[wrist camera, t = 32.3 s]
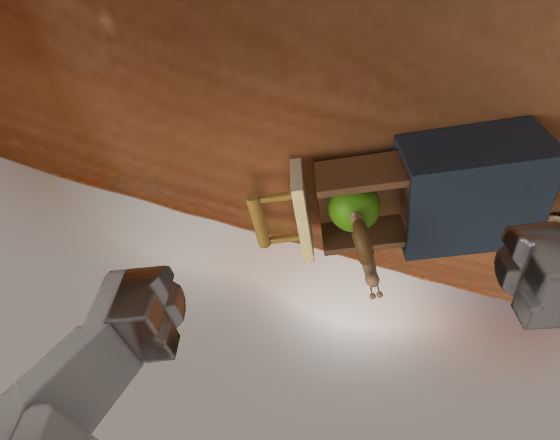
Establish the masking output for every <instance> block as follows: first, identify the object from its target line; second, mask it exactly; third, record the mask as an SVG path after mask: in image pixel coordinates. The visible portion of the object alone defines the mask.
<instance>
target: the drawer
mask: <svg viewBox="0 0 560 440" xmlns="http://www.w3.org/2000/svg"><path fill="white" fill-rule="evenodd" d="M313 167H314V176H315V185H316V194H317V199H318V206H319V213H320V221H321V229H322V238H323V247H324V254H325V256H327V255H336V254H345V253H354V252H357V251H356V248H355V245H354V241H353V238H352V232H347V231H344V230H342V229H340V228H339V227H338V226H336V225H335V224H334V222H333V221H332V220H331V218H330V215H329V212H328V201H329V198H330V197H335V196H343V195H350V194H358V193H366V192H374V191H376V192H377V193H378V195H379V198H380V202H381V211H380V215H379V217H378V219H377V221H376V222H375V223H374V224H373V225H372V226H371V227H370V228H368V230H369V233H370V237H371V240H372V244H373V250H381V249H390V248H399V247H405V244H406V230H407V216H408V202H409V188H410V176H409V174H408V172H407V169H406V167H405V165H404V162H403V160H402V158H401V155H400V153H399V151H398V150H397V151H390V152H382V153H375V154H368V155H361V156H354V157H346V158H339V159H332V160H325V161H318V162H313ZM290 185H291V192H286V193H278V194H270V195H263V196H259V195H258V194H257V193H251V194H249V195H247V196H246V202H247V205H248V209H249V212H250V216H251V219H252V223H253V226H254V229H255V233H256V236H257V239H258V243H259V246H260V247H261V248H267V247H269V246H270V245H271V244H273V243H281V242H290V241H299V240H300V244H301V249H302V255H303V260H304V263H306V262H314V251H313V239H312V228H311V221H310V214H309V208H308V201H307V195H306V188H305V182H304V175H303V169H302V162H301V158H296V159H290ZM284 200H292V202H293V207H294V212H295V218H296V223H297V228H298V234H290V235H282V236H273V237H269V233H268V229H267V225H266V221H265V217H264V214H263V210H262V206H261V203H269V202H276V201H284Z"/></svg>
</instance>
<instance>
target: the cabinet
mask: <svg viewBox="0 0 560 440" xmlns="http://www.w3.org/2000/svg"><path fill="white" fill-rule="evenodd" d="M397 150H398V151H399V153H400V155H401V158H402V160H403V162H404V165H405V167H406V169H407V172H408V174H409V176H410V188H409V202H408V216H407V230H406V244H405V247H402V251H403V254H404V256H405V260H406V261H411V260H421V259H430V258H439V257H449V256H458V255H467V254H476V253H486V252H495V251H498V250H499V249H500V248H502V247H503V246H504V243H503V242H502V240H501V236H502V233H503V230H504V229H505V228H506V227H507V226H514V225H522V224H530V223H538V222H546V221H547V219H548V216H549V214H550V211H551V209H552V206H553V204H554V201H555V199H556V196H557V194H558V191H559V189H560V143H559V142H558V141H557V140H556V139H555V138H554V137H553V136H552V135H551V134H550V133H549V132H548V131H547V130H546V129H545V128H544V127H542V126H541V125H540V124H539V123H538V122H537V121H536V120H535V119H534V118H533V117H532V116H531V115H530V116H523V117H516V118H509V119H502V120H495V121H488V122H481V123H474V124H467V125H460V126H453V127H446V128H439V129H432V130H426V131H419V132H412V133H405V134H398V135H394V151H397Z"/></svg>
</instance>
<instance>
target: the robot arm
mask: <svg viewBox="0 0 560 440" xmlns="http://www.w3.org/2000/svg"><path fill="white" fill-rule="evenodd" d="M501 240H502V242H503V243H504V246H503V247H502V248H500V249H499V250H498V251H497V252H496V256H495V260H494V265H495V274H496V277H497V280H498V282H499V284H500V286H501V288H502V290H504V291H505V292H507V293H508V294H510V295H511V296H513V300H512V304H511V306H512V308H513V310H514V312H515V314H516V316H517V318H518V319H519V321H520V323H521V325H522V327H523V329H524V330H531V329H549V328H560V220H555V221H546V222H538V223H530V224H522V225H514V226H507V227H506V228H505V229H504V230H503V233H502V236H501ZM173 277H174V273H173V272H172V270H171V268H170V267H169V266H157V267H146V268H136V269H135V268H134V269H127V270H116V271H110V272H109V273H108V274H107V275H106V276H105V278H104V280H103V282H102V284H101V286H100V289H99V291H98V293H97V295H96V298H95V300H94V302H93V304H92V307H91V309H90V311H89V313H88V315H87V318H86V320H85V322H84V324H83V326H78V327H76V328H75V329H74V330H73V331H72V332H71V333H70V334H68V335H67V336H66V337H65V338H64V339H63V340H62V341H61V342H59V343H58V344H57V345H56V346H55V347H54V348H53V349H52V350H51V351H49V352H48V353H47V354H46V355H45V356H44V357H43V358H42V359H40V360H39V361H38V362H37V363H36V364H35V365H34V366H33V367H31V368H30V369H29V370H28V371H27V372H26V373H25V374H24V375H23V376H21V377H20V378H19V379H18V380H17V381H16V382H15V383H14V384H13V385H11V386H10V387H9V388H8V389H7V390H6V391H5V392H4V393H2V394H1V395H0V440H97V438H95V437H94V436H93V435H91V433H92V432H93V431H94V429H95V428H96V427H97V425H98V424H99V423H100V422H101V420H102V419H103V417H104V416H105V415H106V413H107V412H108V411H109V410H110V408H111V407H112V406H113V404H114V403H115V402H116V400H117V399H118V398H119V396H120V395H121V394H122V392H123V391H124V390H125V388H126V387H127V386H128V385H129V383H130V382H131V381H132V379H133V378H134V377H135V375H136V374H137V373H138V371H139V370H140V369H141V367H142V366H143V364H142V363H150V362H158V361H167V360H175V356H176V352H177V348H178V343H179V339H180V335H179V333H178V331H177V329H176V328H177V327H178V326H179V325H180V324H181V323H182V322H183V320H184V315H185V297H184V293H183V290H182V288H181V286H180V285H178V284H176V283H175V282H173Z"/></svg>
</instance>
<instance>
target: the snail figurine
mask: <svg viewBox="0 0 560 440" xmlns="http://www.w3.org/2000/svg"><path fill="white" fill-rule="evenodd" d="M380 211H381V202H380V198H379V195H378V193H377V192H376V191H374V192H366V193H358V194H350V195H343V196H335V197H330V198H329V201H328V212H329V215H330V218H331V220H332V221H333V222H334V224H335V225H336V226H338V227H339V228H340V229H342V230H344V231H347V232H352V238H353V241H354V245H355V248H356V251H357V255H358V259H359V261H360V263H361V264H362V266H363V269H364V272H365V280H366V283H367V284H368V285H369V286H370V289H371V287H376V286H377V287H378V283H379V277H378V275H377V272H376V265H375V261H374V257H373V254H374V250H373V244H372V240H371V237H370V233H369V230H368V228H370V227H371V226H372V225H373V224H374V223H375V222H376V221H377V219H378V217H379V215H380ZM378 291H379V288H378ZM382 296H383V294H382V292H380V291H379V292H378V293H377V297H379V298H380V297H382ZM375 297H376V296H375V294H374V293H372V289H371V294H370V298H371V299H374V298H375Z"/></svg>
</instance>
